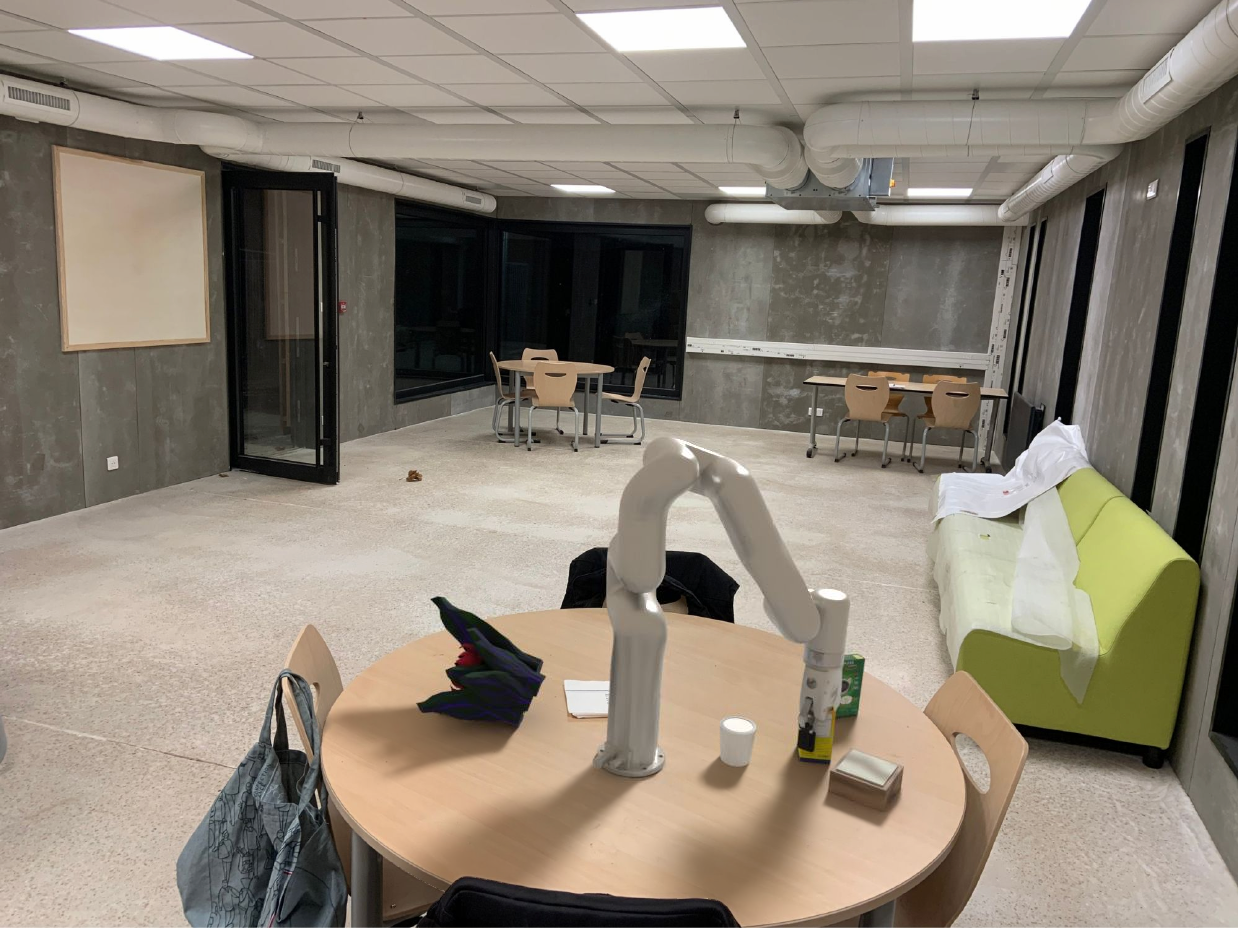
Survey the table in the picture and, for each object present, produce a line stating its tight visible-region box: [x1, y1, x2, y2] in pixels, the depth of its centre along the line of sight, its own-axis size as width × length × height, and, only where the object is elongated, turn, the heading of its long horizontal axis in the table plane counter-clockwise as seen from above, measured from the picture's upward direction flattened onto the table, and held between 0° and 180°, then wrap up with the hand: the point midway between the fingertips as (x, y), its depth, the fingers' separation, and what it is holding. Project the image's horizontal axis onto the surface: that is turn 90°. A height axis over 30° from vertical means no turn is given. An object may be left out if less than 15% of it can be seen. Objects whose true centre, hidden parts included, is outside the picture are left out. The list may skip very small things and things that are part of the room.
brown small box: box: [827, 747, 905, 812], centre depth 158 cm, size 10×10×4 cm
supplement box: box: [796, 706, 836, 764], centre depth 168 cm, size 6×6×11 cm
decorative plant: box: [415, 595, 546, 728], centre depth 178 cm, size 21×26×30 cm
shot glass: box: [719, 715, 758, 767], centre depth 166 cm, size 7×7×7 cm
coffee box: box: [835, 653, 866, 719], centre depth 184 cm, size 8×3×13 cm, turn 110°
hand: (814, 740), depth 169 cm, fingers closed on supplement box, 8 cm apart
